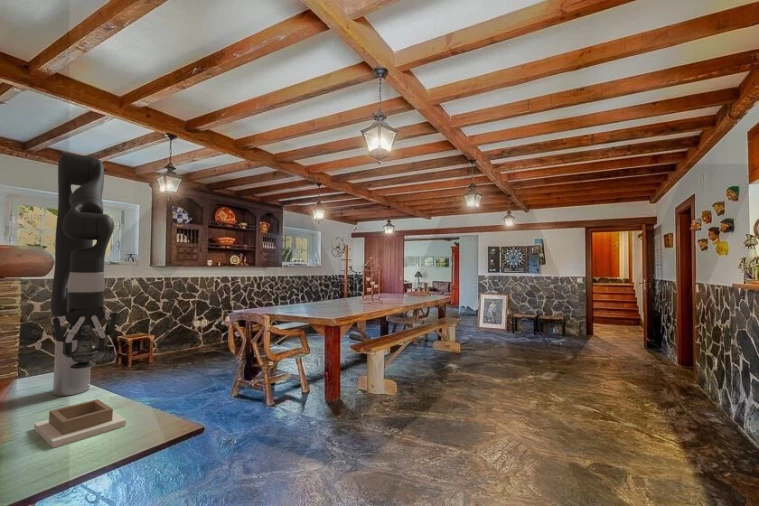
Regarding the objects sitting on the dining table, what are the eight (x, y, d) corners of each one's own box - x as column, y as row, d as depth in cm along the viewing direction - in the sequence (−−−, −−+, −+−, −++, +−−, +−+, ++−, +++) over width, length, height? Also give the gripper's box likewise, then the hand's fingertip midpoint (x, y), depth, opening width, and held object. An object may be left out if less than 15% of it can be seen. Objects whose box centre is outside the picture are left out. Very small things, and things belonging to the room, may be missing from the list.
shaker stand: (34, 429, 96) (34, 411, 96) (103, 410, 108) (104, 394, 108) (52, 448, 87) (53, 428, 88) (125, 425, 100) (126, 408, 100)
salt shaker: (64, 366, 97) (66, 319, 97) (90, 361, 102) (92, 316, 102) (75, 370, 94) (78, 322, 94) (102, 364, 99) (104, 319, 99)
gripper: (112, 287, 106) (110, 347, 106) (46, 289, 95) (43, 357, 94) (123, 289, 102) (121, 351, 102) (55, 292, 90) (52, 363, 90)
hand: (83, 354), depth 98 cm, fingers closed on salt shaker, 6 cm apart
